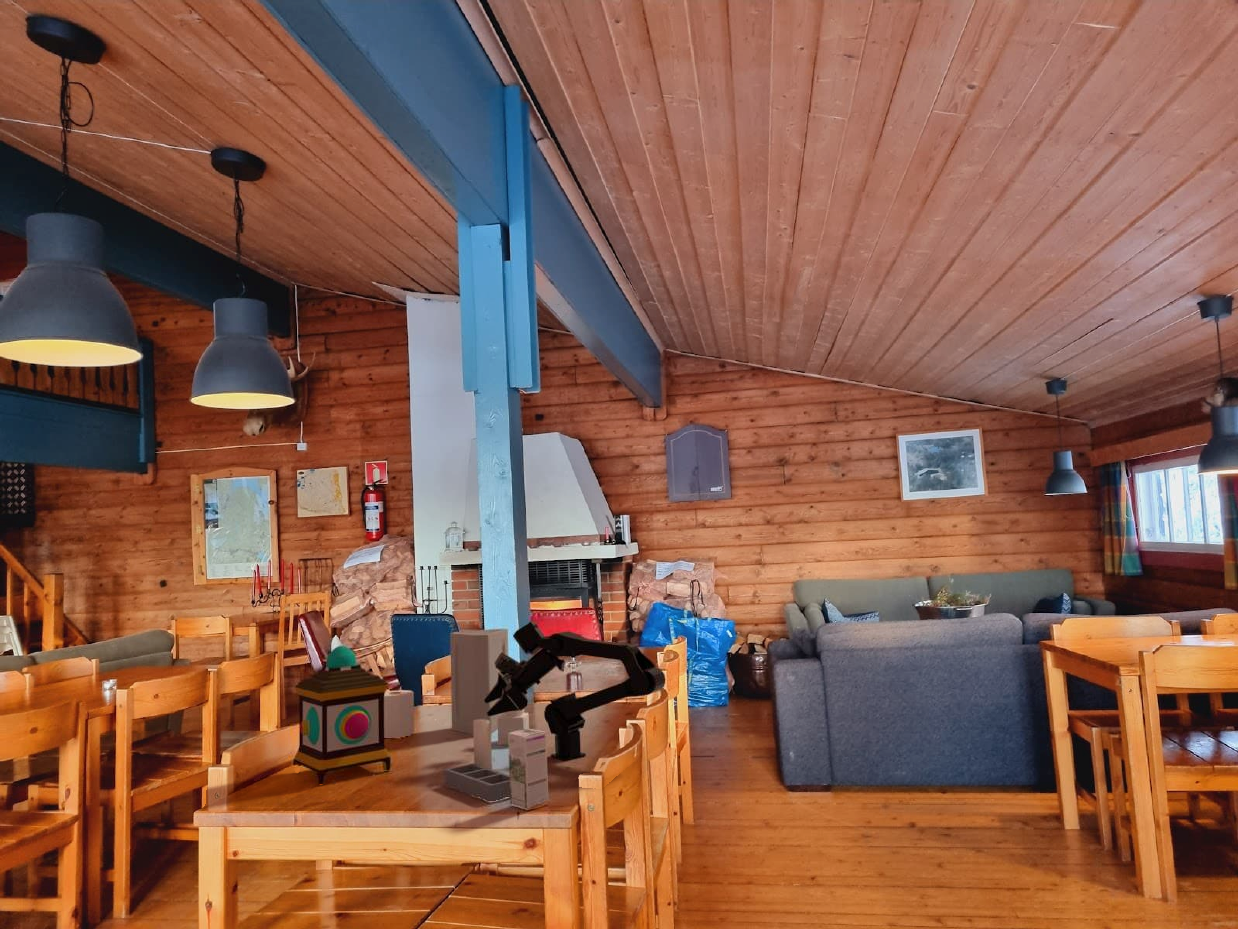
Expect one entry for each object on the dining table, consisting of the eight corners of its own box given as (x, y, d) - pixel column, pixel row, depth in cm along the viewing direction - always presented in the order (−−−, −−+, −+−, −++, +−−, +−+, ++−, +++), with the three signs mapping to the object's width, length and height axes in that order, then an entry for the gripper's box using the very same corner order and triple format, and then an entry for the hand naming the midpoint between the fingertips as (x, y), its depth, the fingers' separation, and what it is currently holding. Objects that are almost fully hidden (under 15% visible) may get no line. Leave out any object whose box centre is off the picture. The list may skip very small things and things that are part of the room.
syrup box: (549, 805, 169) (547, 730, 170) (526, 812, 165) (524, 735, 166) (532, 800, 173) (530, 727, 174) (508, 806, 169) (506, 732, 170)
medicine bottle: (529, 739, 231) (528, 694, 233) (524, 745, 224) (522, 698, 226) (504, 739, 232) (503, 695, 233) (497, 745, 225) (496, 699, 226)
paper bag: (464, 722, 260) (462, 629, 263) (510, 721, 257) (508, 628, 260) (440, 735, 241) (439, 636, 244) (490, 735, 239) (488, 634, 242)
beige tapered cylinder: (495, 773, 196) (493, 720, 197) (480, 776, 193) (478, 722, 195) (486, 770, 199) (485, 718, 200) (471, 773, 196) (470, 720, 198)
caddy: (520, 796, 176) (520, 778, 176) (491, 803, 171) (490, 785, 172) (473, 779, 191) (472, 763, 191) (444, 785, 186) (444, 769, 187)
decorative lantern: (285, 773, 203) (285, 647, 207) (364, 758, 216) (363, 639, 219) (315, 789, 188) (315, 652, 191) (398, 771, 201) (397, 643, 204)
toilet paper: (395, 740, 237) (394, 696, 238) (369, 737, 242) (369, 694, 243) (421, 733, 245) (420, 690, 246) (395, 730, 251) (395, 689, 252)
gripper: (512, 634, 221) (464, 672, 219) (520, 655, 203) (468, 697, 201) (538, 666, 223) (490, 704, 221) (548, 689, 205) (497, 731, 203)
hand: (486, 708), depth 212 cm, fingers open, 9 cm apart
